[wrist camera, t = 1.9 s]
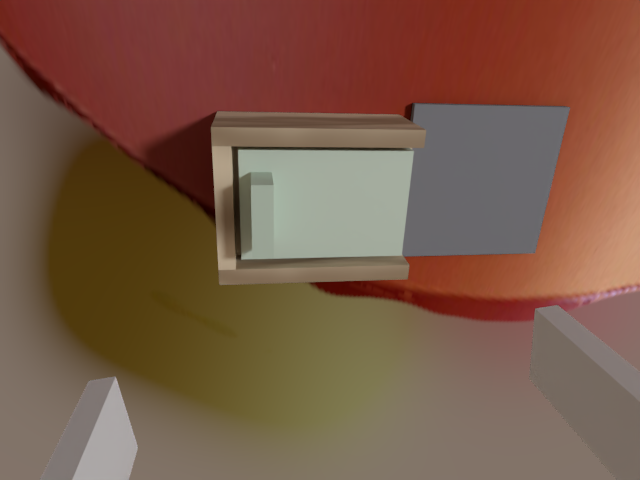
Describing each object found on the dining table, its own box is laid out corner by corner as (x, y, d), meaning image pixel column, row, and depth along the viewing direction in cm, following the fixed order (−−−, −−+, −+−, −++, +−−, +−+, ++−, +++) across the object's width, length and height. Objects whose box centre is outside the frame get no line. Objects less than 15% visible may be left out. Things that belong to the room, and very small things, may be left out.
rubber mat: (412, 103, 37) (415, 104, 37) (565, 106, 39) (570, 107, 38) (395, 253, 42) (397, 256, 42) (531, 250, 44) (534, 253, 43)
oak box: (217, 111, 35) (210, 127, 30) (398, 114, 37) (426, 129, 31) (223, 247, 40) (219, 285, 34) (385, 244, 42) (407, 279, 36)
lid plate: (238, 144, 33) (236, 161, 28) (406, 146, 34) (428, 162, 30) (241, 250, 36) (240, 279, 32) (395, 246, 37) (414, 273, 33)
